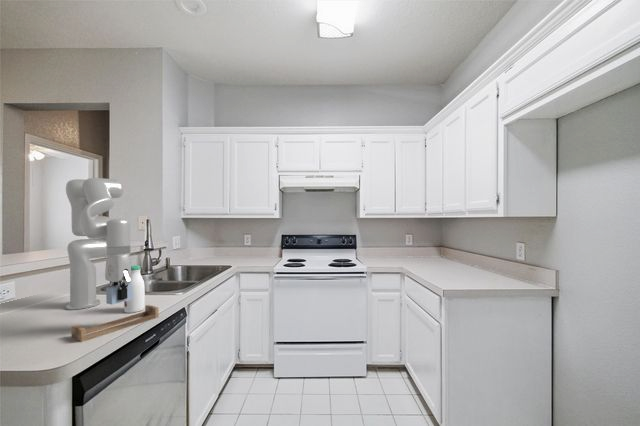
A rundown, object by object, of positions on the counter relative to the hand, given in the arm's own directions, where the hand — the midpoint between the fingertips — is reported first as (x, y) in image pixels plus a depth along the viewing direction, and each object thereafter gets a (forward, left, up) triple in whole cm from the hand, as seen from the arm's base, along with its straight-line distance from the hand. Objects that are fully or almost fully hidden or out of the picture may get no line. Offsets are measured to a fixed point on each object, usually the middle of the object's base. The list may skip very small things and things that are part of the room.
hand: (119, 298), depth 109 cm
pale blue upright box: (0, 0, -1) cm, 1 cm away
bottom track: (0, 0, -11) cm, 11 cm away
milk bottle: (-14, +13, -11) cm, 22 cm away
